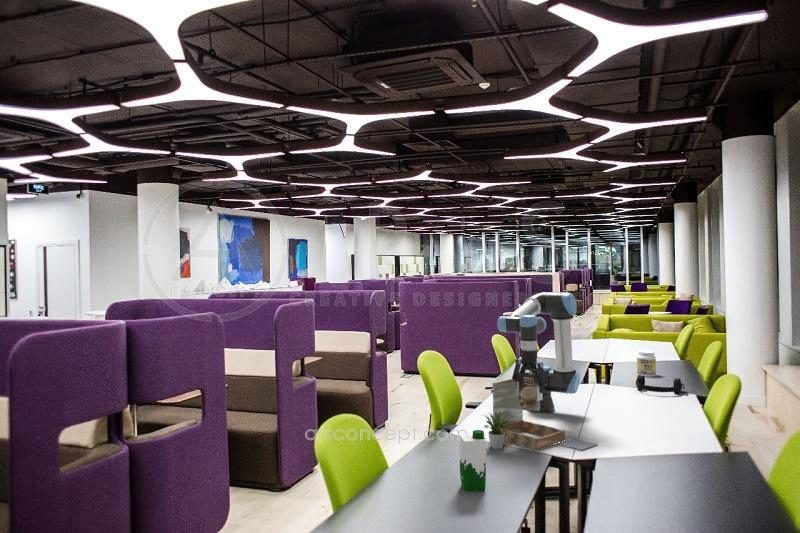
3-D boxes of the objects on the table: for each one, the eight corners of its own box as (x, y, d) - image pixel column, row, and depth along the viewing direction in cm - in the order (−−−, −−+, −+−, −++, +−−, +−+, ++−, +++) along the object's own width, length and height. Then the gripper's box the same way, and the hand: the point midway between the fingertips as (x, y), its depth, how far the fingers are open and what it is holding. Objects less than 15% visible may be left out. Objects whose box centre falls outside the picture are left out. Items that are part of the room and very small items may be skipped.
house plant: (491, 454, 242) (491, 415, 242) (472, 445, 254) (472, 408, 254) (518, 449, 248) (518, 411, 248) (498, 440, 260) (498, 404, 260)
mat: (557, 444, 255) (557, 443, 255) (573, 439, 262) (573, 437, 262) (581, 451, 245) (581, 449, 245) (597, 445, 253) (597, 443, 253)
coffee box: (518, 410, 262) (517, 374, 261) (520, 406, 268) (519, 371, 267) (539, 411, 259) (538, 375, 258) (540, 407, 265) (540, 372, 264)
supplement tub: (639, 376, 402) (639, 352, 402) (635, 373, 414) (635, 349, 414) (658, 377, 400) (657, 352, 400) (653, 374, 412) (653, 350, 412)
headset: (675, 387, 369) (675, 373, 369) (693, 396, 343) (693, 381, 343) (630, 387, 371) (630, 373, 371) (644, 396, 345) (644, 381, 345)
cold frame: (493, 436, 267) (492, 382, 267) (521, 428, 279) (520, 377, 279) (537, 450, 247) (536, 391, 247) (565, 440, 260) (564, 385, 260)
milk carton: (488, 492, 202) (487, 434, 202) (462, 493, 202) (462, 435, 202) (482, 482, 211) (482, 427, 211) (458, 483, 210) (457, 428, 210)
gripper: (503, 347, 269) (504, 394, 270) (544, 353, 251) (545, 404, 252) (514, 345, 274) (514, 392, 274) (555, 351, 256) (556, 401, 256)
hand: (529, 397), depth 263 cm, fingers closed on coffee box, 11 cm apart
